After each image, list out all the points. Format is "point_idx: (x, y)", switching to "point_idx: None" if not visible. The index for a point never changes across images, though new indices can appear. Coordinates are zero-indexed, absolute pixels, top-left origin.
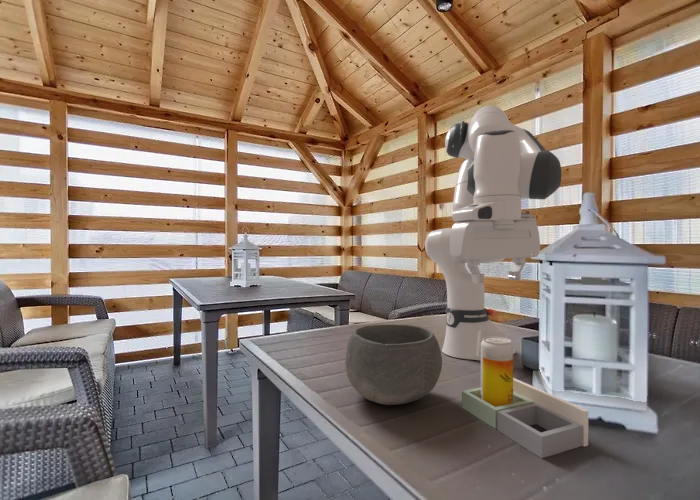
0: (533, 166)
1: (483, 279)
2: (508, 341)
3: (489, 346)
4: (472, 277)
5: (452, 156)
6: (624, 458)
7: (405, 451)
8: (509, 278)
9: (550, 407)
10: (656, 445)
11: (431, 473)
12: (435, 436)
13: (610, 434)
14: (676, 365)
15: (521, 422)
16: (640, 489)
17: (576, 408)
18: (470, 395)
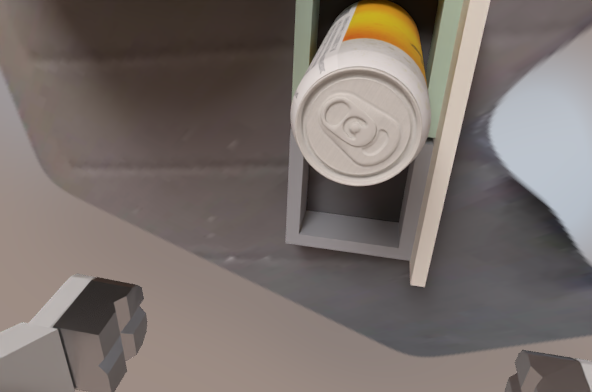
0: None
1: (131, 353)
2: (396, 160)
3: (294, 136)
4: (54, 302)
5: None
6: (432, 286)
7: (58, 77)
8: (523, 358)
9: (425, 191)
10: (544, 299)
11: (80, 154)
12: (144, 60)
13: (517, 241)
14: None
15: (297, 191)
16: (358, 323)
17: (413, 268)
18: (298, 12)
